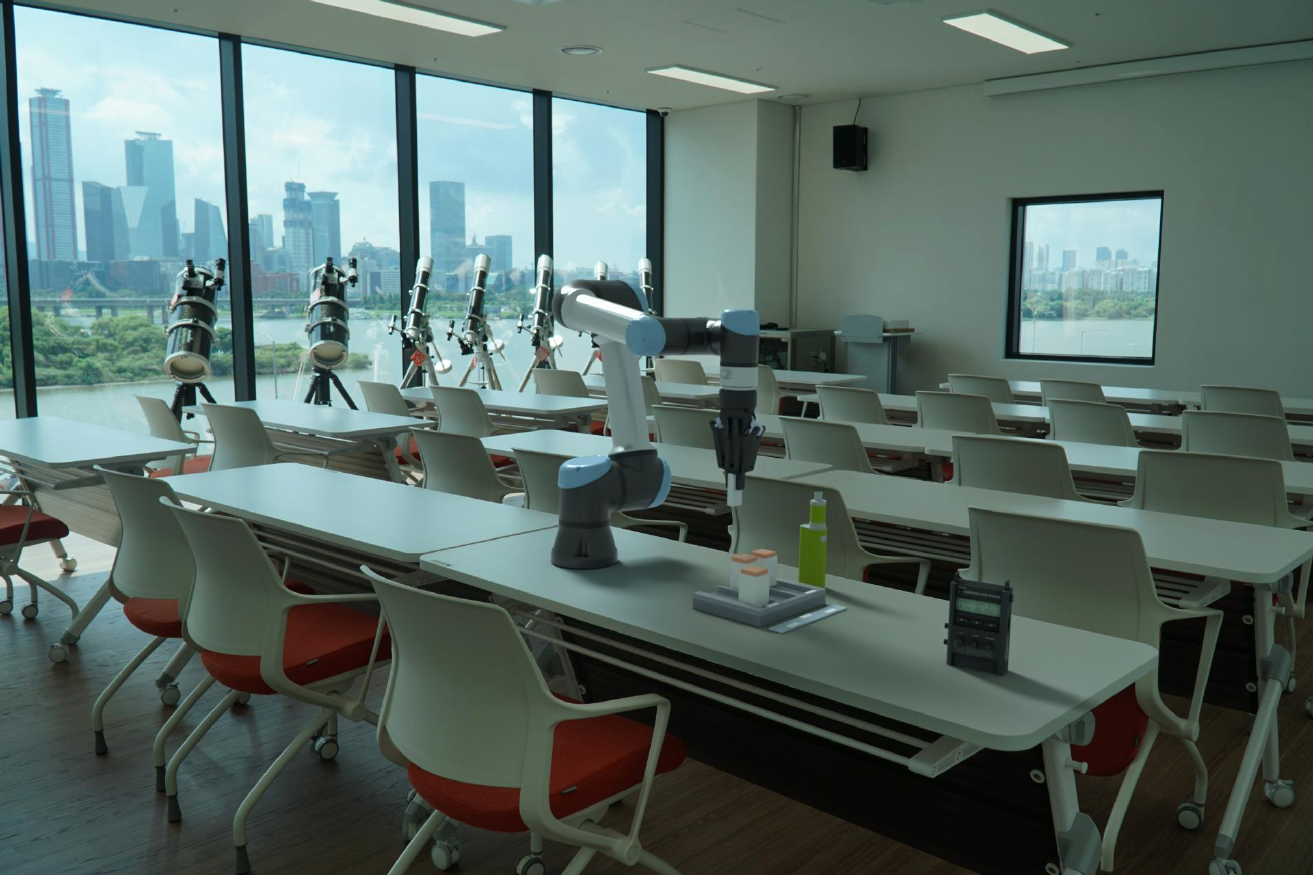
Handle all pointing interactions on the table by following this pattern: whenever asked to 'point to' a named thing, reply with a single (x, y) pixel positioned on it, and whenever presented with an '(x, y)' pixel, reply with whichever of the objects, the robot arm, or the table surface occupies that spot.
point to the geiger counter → (979, 625)
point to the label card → (807, 618)
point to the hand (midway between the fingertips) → (734, 505)
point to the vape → (814, 545)
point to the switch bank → (782, 604)
